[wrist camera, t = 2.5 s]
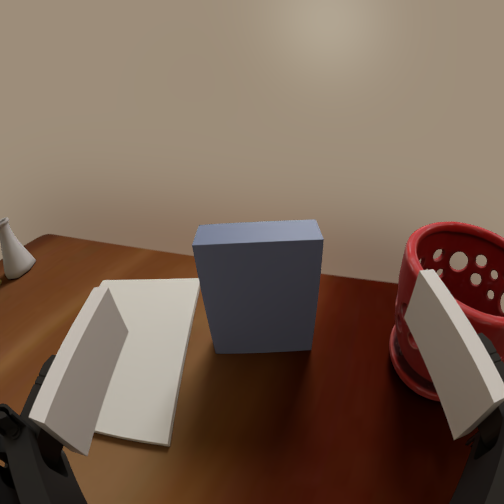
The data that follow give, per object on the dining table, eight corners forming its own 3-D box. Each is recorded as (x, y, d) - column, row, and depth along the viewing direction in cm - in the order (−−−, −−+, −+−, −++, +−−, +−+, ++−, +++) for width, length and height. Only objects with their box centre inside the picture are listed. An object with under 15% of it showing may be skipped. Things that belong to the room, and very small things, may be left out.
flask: (18, 282, 37) (-5, 231, 32) (0, 278, 38) (-21, 232, 33) (42, 259, 43) (23, 210, 38) (22, 257, 44) (5, 212, 39)
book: (311, 349, 26) (323, 239, 20) (215, 353, 26) (192, 245, 20) (307, 326, 29) (315, 219, 22) (218, 330, 29) (199, 224, 22)
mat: (169, 446, 18) (167, 444, 18) (40, 415, 19) (37, 412, 18) (201, 282, 36) (200, 278, 35) (104, 283, 36) (103, 280, 36)
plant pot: (405, 299, 30) (430, 205, 24) (494, 344, 22) (542, 253, 16) (348, 375, 23) (379, 265, 17) (463, 440, 15) (550, 349, 8)
